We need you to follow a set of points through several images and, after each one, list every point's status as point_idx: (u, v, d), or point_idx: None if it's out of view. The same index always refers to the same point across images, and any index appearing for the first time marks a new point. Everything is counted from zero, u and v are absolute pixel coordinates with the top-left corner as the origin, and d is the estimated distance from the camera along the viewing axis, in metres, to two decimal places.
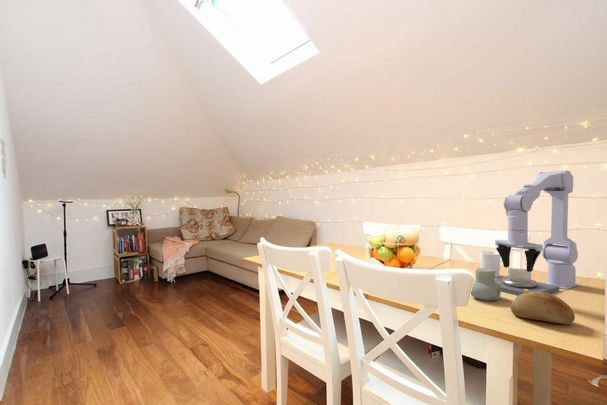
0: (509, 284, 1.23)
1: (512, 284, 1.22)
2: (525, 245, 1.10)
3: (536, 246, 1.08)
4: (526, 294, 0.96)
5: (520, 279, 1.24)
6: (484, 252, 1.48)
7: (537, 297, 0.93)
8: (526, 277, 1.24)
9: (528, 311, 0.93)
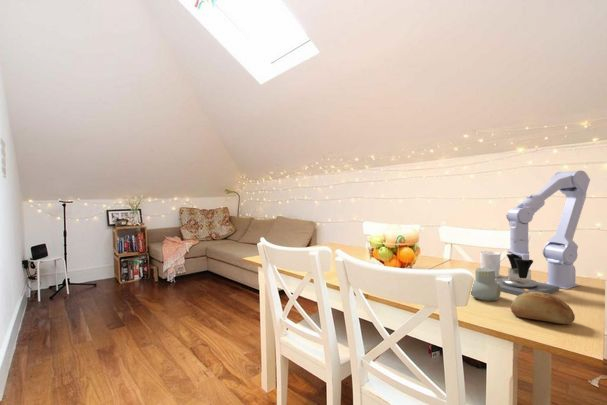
0: (509, 284, 1.23)
1: (512, 284, 1.22)
2: (516, 253, 1.22)
3: (522, 255, 1.19)
4: (526, 294, 0.96)
5: (520, 279, 1.24)
6: (484, 252, 1.48)
7: (537, 297, 0.93)
8: None
9: (528, 311, 0.93)
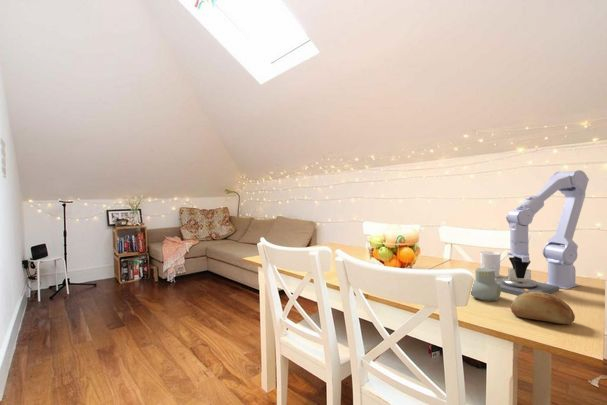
0: (509, 284, 1.23)
1: (512, 284, 1.22)
2: (516, 255, 1.22)
3: (522, 257, 1.19)
4: (526, 294, 0.96)
5: (520, 279, 1.24)
6: (484, 252, 1.48)
7: (537, 297, 0.93)
8: (526, 277, 1.24)
9: (528, 311, 0.93)
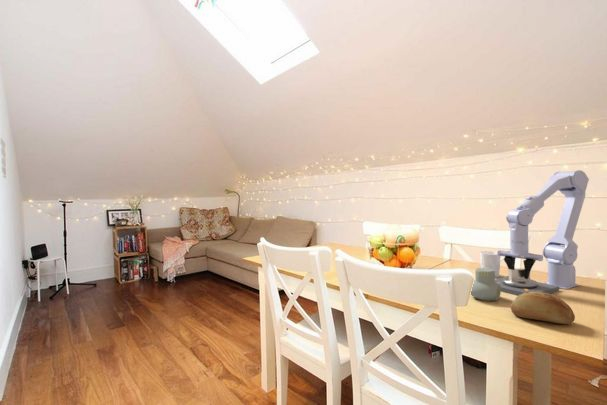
0: (514, 285, 1.22)
1: (517, 285, 1.21)
2: (528, 256, 1.21)
3: (538, 256, 1.19)
4: (526, 294, 0.96)
5: (521, 279, 1.24)
6: (484, 252, 1.48)
7: (537, 297, 0.93)
8: None
9: (528, 311, 0.93)
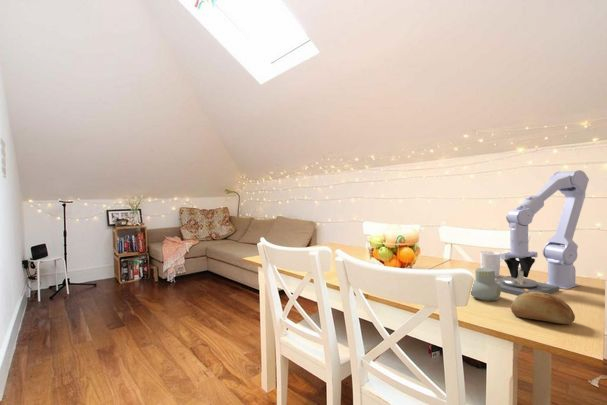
0: (532, 286, 1.20)
1: (534, 285, 1.20)
2: (531, 254, 1.24)
3: (535, 253, 1.25)
4: (526, 294, 0.96)
5: None
6: (484, 252, 1.48)
7: (537, 297, 0.93)
8: None
9: (528, 311, 0.93)
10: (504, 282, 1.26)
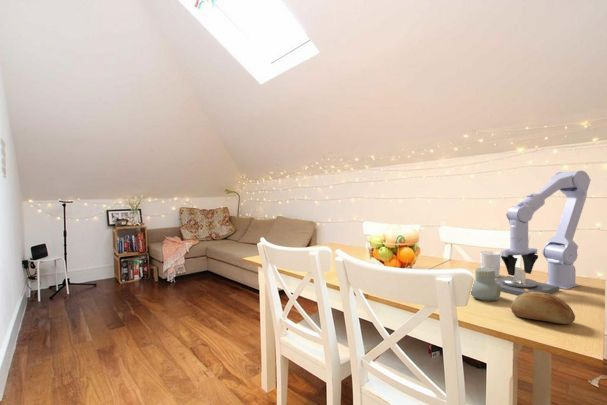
0: (534, 286, 1.20)
1: (536, 285, 1.21)
2: (531, 251, 1.24)
3: (535, 250, 1.25)
4: (526, 294, 0.96)
5: None
6: (484, 252, 1.48)
7: (537, 297, 0.93)
8: None
9: (528, 311, 0.93)
10: (506, 283, 1.24)
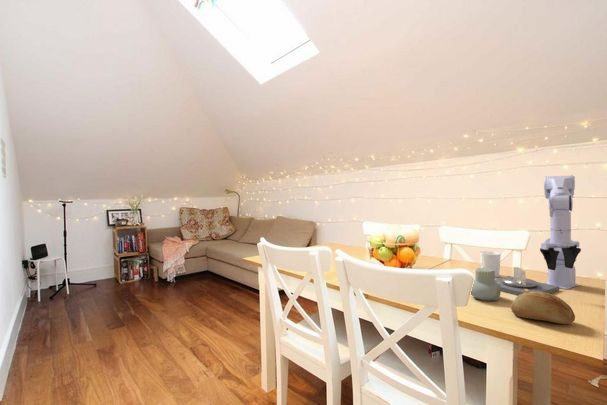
0: (534, 286, 1.20)
1: (536, 285, 1.21)
2: (573, 243, 1.15)
3: (577, 243, 1.16)
4: (526, 294, 0.96)
5: None
6: (484, 252, 1.48)
7: (537, 297, 0.93)
8: None
9: (528, 310, 0.93)
10: (506, 283, 1.24)
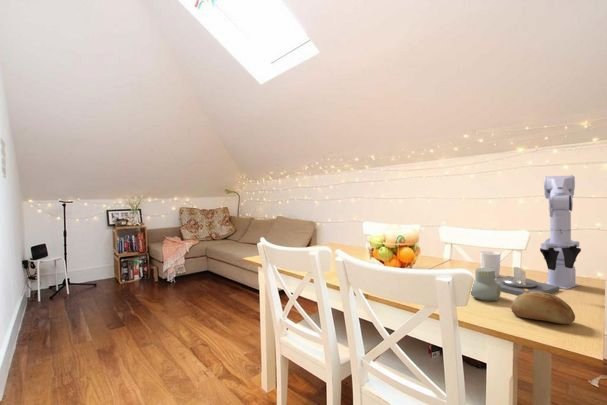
0: (534, 286, 1.20)
1: (536, 285, 1.21)
2: (573, 243, 1.15)
3: (577, 243, 1.16)
4: (526, 294, 0.96)
5: None
6: (484, 252, 1.48)
7: (537, 297, 0.93)
8: None
9: (528, 310, 0.93)
10: (506, 283, 1.24)
